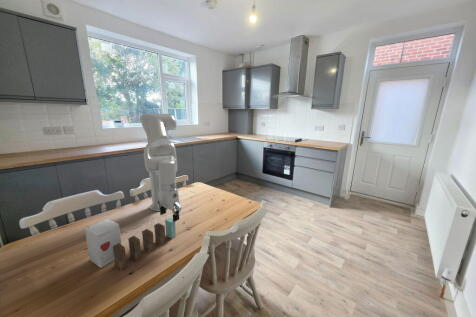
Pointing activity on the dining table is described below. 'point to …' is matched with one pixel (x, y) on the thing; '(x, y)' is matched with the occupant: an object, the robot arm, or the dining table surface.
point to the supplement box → (102, 241)
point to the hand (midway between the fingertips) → (169, 217)
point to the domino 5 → (170, 228)
